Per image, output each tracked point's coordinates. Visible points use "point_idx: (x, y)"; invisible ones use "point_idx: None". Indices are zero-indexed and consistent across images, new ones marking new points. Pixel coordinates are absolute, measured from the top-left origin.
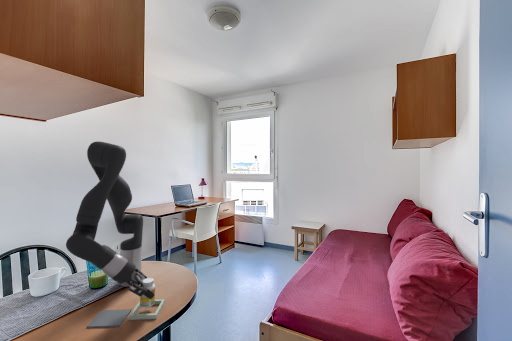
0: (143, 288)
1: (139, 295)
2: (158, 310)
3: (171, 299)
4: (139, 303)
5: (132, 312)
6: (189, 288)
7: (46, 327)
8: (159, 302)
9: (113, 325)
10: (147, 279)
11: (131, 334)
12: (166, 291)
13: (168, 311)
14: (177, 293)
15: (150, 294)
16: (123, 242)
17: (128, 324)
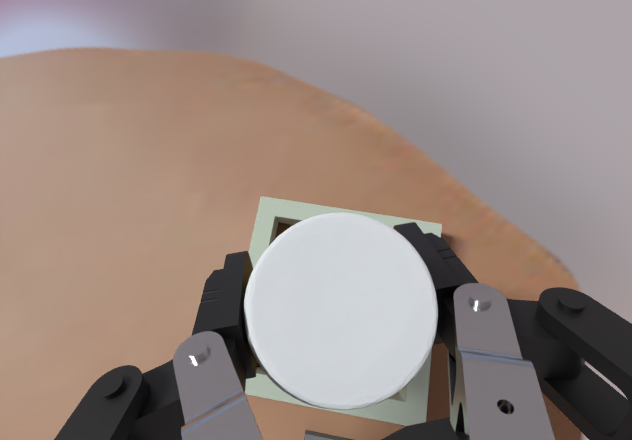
0: (587, 334)
1: (583, 372)
2: (392, 219)
3: (235, 167)
4: (271, 382)
5: (386, 410)
6: (133, 70)
7: None
8: (273, 234)
9: None
10: (307, 324)
11: None
12: (118, 213)
13: (367, 170)
14: (171, 138)
15: (454, 253)
16: None
17: None
